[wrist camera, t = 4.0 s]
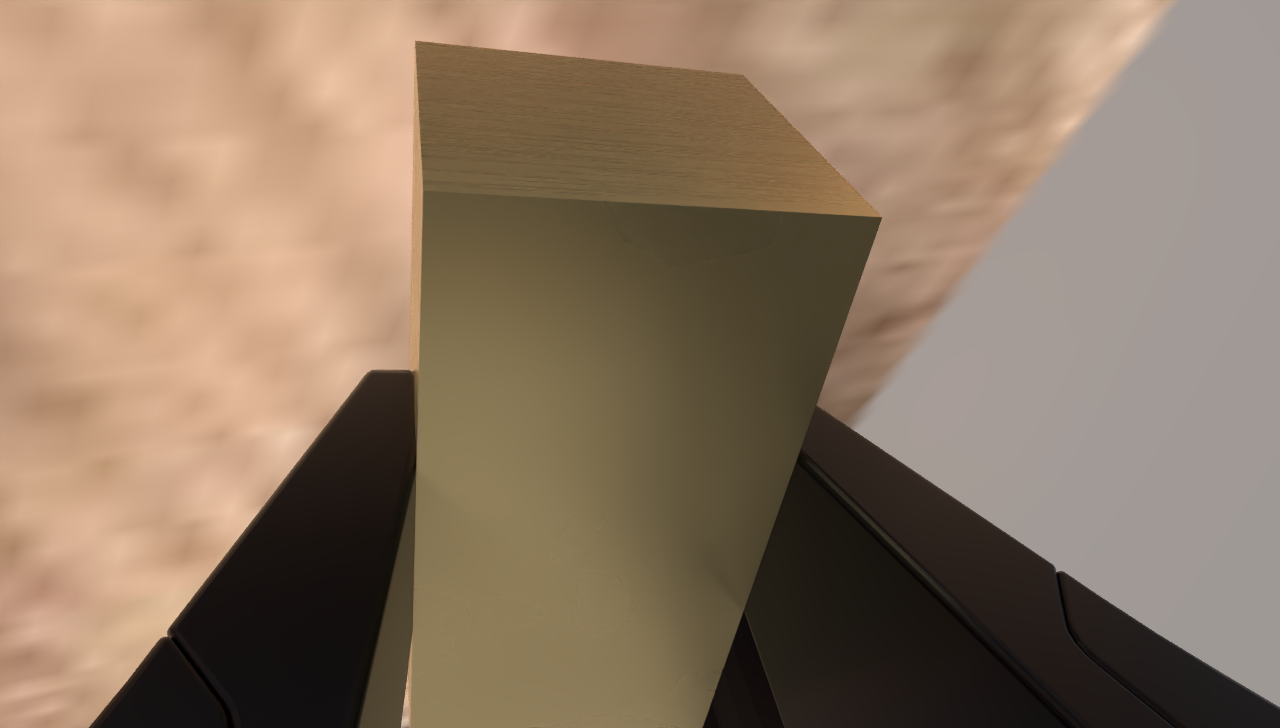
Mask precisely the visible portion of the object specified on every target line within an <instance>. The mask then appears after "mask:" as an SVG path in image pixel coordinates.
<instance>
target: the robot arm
mask: <svg viewBox="0 0 1280 728" xmlns="http://www.w3.org/2000/svg"><path fill="white" fill-rule="evenodd" d="M415 509H416V438H415V411H414V384H413V372H412V371H411V370H371V371H370V372H368V373H367V374H366V375H365V376H364V377H363V379H362V380H361V381H360V382H359V384H358V385H357V386H356V388H355V389H354V390H353V392H352V393H351V394H350V395H349V397H348V398H347V399H346V401H345V402H344V403H343V404H342V406H341V407H340V408H339V410H338V411H337V412H336V413H335V415H334V416H333V417H332V419H331V420H330V421H329V422H328V424H327V425H326V426H325V428H324V429H323V430H322V431H321V433H320V434H319V435H318V437H317V438H316V439H315V440H314V442H313V443H312V444H311V446H310V447H309V448H308V449H307V451H306V452H305V453H304V455H303V456H302V457H301V459H300V460H299V461H298V462H297V464H296V465H295V466H294V468H293V469H292V470H291V471H290V473H289V474H288V475H287V477H286V478H285V479H284V480H283V482H282V483H281V484H280V486H279V487H278V488H277V489H276V491H275V492H274V493H273V495H272V496H271V497H270V498H269V500H268V501H267V502H266V504H265V505H264V506H263V507H262V509H261V510H260V511H259V513H258V514H257V515H256V517H255V518H254V519H253V520H252V522H251V523H250V524H249V526H248V527H247V528H246V529H245V531H244V532H243V533H242V535H241V536H240V537H239V538H238V540H237V541H236V542H235V544H234V545H233V546H232V547H231V549H230V550H229V551H228V553H227V554H226V555H225V556H224V558H223V559H222V560H221V562H220V563H219V564H218V565H217V567H216V568H215V569H214V571H213V572H212V573H211V574H210V576H209V577H208V578H207V580H206V581H205V582H204V584H203V585H202V586H201V587H200V589H199V590H198V591H197V593H196V594H195V595H194V596H193V598H192V599H191V600H190V602H189V603H188V604H187V605H186V607H185V608H184V609H183V611H182V612H181V613H180V614H179V616H178V617H177V618H176V620H175V621H174V622H173V623H172V625H171V626H170V627H169V629H168V631H167V635H168V637H163V638H161V639H160V640H159V641H158V642H157V643H156V644H155V646H154V647H153V648H152V650H151V651H150V652H149V654H148V655H147V656H146V657H145V659H144V660H143V661H142V663H141V664H140V665H139V667H138V668H137V669H136V670H135V672H134V673H133V674H132V676H131V677H130V678H129V680H128V681H127V682H126V683H125V685H124V686H123V687H122V688H121V689H120V691H119V692H118V693H117V694H116V695H115V697H114V698H113V699H112V700H111V701H110V703H109V704H108V705H107V706H106V708H105V709H104V710H103V711H102V712H101V714H100V715H99V716H98V717H97V718H96V720H95V721H94V722H93V723H92V724H91V726H90V727H89V728H401V721H402V713H403V705H404V697H405V689H406V681H407V673H408V665H409V657H410V649H411V641H412V633H413V591H414V550H415ZM703 728H1280V707H1278V706H1277V705H1275V704H1273V703H1271V702H1270V701H1268V700H1266V699H1264V698H1263V697H1261V696H1260V695H1258V694H1256V693H1255V692H1253V691H1251V690H1250V689H1248V688H1246V687H1244V686H1243V685H1241V684H1239V683H1238V682H1236V681H1234V680H1232V679H1231V678H1229V677H1227V676H1226V675H1224V674H1223V673H1221V672H1219V671H1218V670H1216V669H1214V668H1213V667H1211V666H1209V665H1208V664H1206V663H1205V662H1203V661H1201V660H1200V659H1198V658H1196V657H1195V656H1193V655H1191V654H1190V653H1188V652H1186V651H1185V650H1183V649H1182V648H1180V647H1178V646H1177V645H1175V644H1173V643H1172V642H1170V641H1168V640H1167V639H1165V638H1163V637H1162V636H1160V635H1158V634H1157V633H1155V632H1154V631H1152V630H1151V629H1149V628H1148V627H1146V626H1144V625H1143V624H1142V623H1140V622H1138V621H1137V620H1135V619H1134V618H1132V617H1131V616H1129V615H1128V614H1126V613H1125V612H1123V611H1122V610H1120V609H1118V608H1117V607H1115V606H1114V605H1112V604H1110V603H1109V602H1108V601H1106V600H1105V599H1103V598H1102V597H1100V596H1099V595H1097V594H1096V593H1094V592H1093V591H1091V590H1090V589H1088V588H1087V587H1085V586H1084V585H1082V584H1081V583H1080V582H1078V581H1077V580H1075V579H1074V578H1072V577H1071V576H1069V575H1068V574H1066V573H1065V572H1063V571H1059V572H1057V573H1056V569H1055V567H1054V565H1053V564H1051V563H1049V562H1048V561H1047V560H1045V559H1044V558H1042V557H1041V556H1039V555H1038V554H1036V553H1035V552H1033V551H1032V550H1030V549H1029V548H1027V547H1026V546H1024V545H1023V544H1021V543H1020V542H1018V541H1017V540H1016V539H1014V538H1013V537H1011V536H1010V535H1008V534H1007V533H1005V532H1003V531H1002V530H1001V529H999V528H998V527H996V526H995V525H993V524H992V523H990V522H989V521H987V520H986V519H984V518H983V517H981V516H980V515H978V514H977V513H975V512H974V511H972V510H971V509H970V508H968V507H966V506H965V505H964V504H962V503H961V502H959V501H958V500H956V499H955V498H953V497H952V496H950V495H949V494H947V493H946V492H944V491H943V490H941V489H940V488H938V487H937V486H935V485H934V484H932V483H931V482H929V481H928V480H926V479H925V478H923V477H922V476H921V475H919V474H918V473H916V472H915V471H913V470H912V469H910V468H908V467H907V466H906V465H904V464H903V463H901V462H900V461H898V460H897V459H895V458H894V457H892V456H891V455H889V454H888V453H886V452H885V451H883V450H882V449H880V448H879V447H878V446H876V445H875V444H873V443H872V442H870V441H869V440H867V439H865V438H864V437H863V436H861V435H860V434H858V433H857V432H855V431H854V430H852V429H851V428H849V427H848V426H846V425H845V424H843V423H842V422H840V421H839V420H837V419H836V418H834V417H833V416H832V415H830V414H829V413H827V412H826V411H824V410H823V409H821V408H820V407H818V406H817V405H816V407H815V409H814V412H813V415H812V418H811V421H810V424H809V426H808V429H807V432H806V435H805V438H804V441H803V443H802V446H801V449H800V452H799V455H798V458H797V461H796V463H795V466H794V469H793V472H792V475H791V478H790V480H789V483H788V486H787V489H786V492H785V495H784V497H783V500H782V503H781V506H780V509H779V512H778V514H777V517H776V520H775V523H774V526H773V529H772V532H771V534H770V537H769V540H768V543H767V546H766V549H765V551H764V554H763V557H762V560H761V563H760V566H759V568H758V571H757V574H756V577H755V580H754V583H753V586H752V588H751V591H750V594H749V597H748V600H747V603H746V605H745V608H744V611H743V614H742V617H741V620H740V622H739V625H738V628H737V631H736V634H735V637H734V640H733V642H732V645H731V648H730V651H729V654H728V657H727V659H726V662H725V665H724V668H723V671H722V674H721V676H720V679H719V682H718V685H717V688H716V691H715V693H714V696H713V699H712V702H711V705H710V708H709V711H708V713H707V716H706V719H705V722H704V725H703Z"/></svg>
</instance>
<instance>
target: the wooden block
mask: <svg viewBox="0 0 1280 728" xmlns="http://www.w3.org/2000/svg"><path fill="white" fill-rule="evenodd" d="M881 219H882V217H881V216H880V214H879V213H878V212H877V211H876V210H875V209H874V208H873V207H872V206H871V205H870V204H869V203H868V202H867V201H866V200H865V199H864V198H863V197H862V196H861V195H860V194H859V193H858V192H857V191H856V190H855V189H854V188H853V187H852V186H851V185H850V184H849V183H848V182H847V181H846V180H845V179H844V178H843V177H842V176H841V175H840V174H839V173H838V172H837V171H836V170H835V168H834V167H833V166H832V165H831V164H830V163H829V162H828V161H827V160H826V159H825V158H824V157H823V156H822V155H821V154H820V153H819V152H818V151H817V150H816V149H815V148H814V147H813V146H812V145H811V144H810V143H809V142H808V141H807V140H806V139H805V138H804V137H803V136H802V135H801V134H800V133H799V132H798V131H797V130H796V129H795V128H794V127H793V126H792V125H791V124H790V123H789V121H788V120H787V119H786V118H785V117H784V116H783V115H782V114H781V113H780V112H779V111H778V110H777V109H776V108H775V107H774V106H773V105H772V104H771V103H770V102H769V101H768V100H767V99H766V98H765V97H764V96H763V95H762V94H761V93H760V92H759V91H758V90H757V89H756V88H755V87H754V86H753V85H752V84H751V83H750V82H749V81H748V80H747V79H746V78H745V77H744V75H740V74H730V73H721V72H711V71H701V70H692V69H682V68H672V67H663V66H653V65H643V64H634V63H624V62H614V61H605V60H595V59H585V58H576V57H566V56H556V55H547V54H537V53H527V52H518V51H508V50H499V49H489V48H479V47H470V46H460V45H450V44H441V43H431V42H421V41H415V82H414V142H413V202H412V262H411V323H410V370H411V371H412V372H413V384H414V411H415V438H416V509H415V550H414V591H413V633H412V641H411V649H410V657H409V665H408V680H409V728H703V725H704V722H705V719H706V716H707V713H708V711H709V708H710V705H711V702H712V699H713V696H714V693H715V691H716V688H717V685H718V682H719V679H720V676H721V674H722V671H723V668H724V665H725V662H726V659H727V657H728V654H729V651H730V648H731V645H732V642H733V640H734V637H735V634H736V631H737V628H738V625H739V622H740V620H741V617H742V614H743V611H744V608H745V605H746V603H747V600H748V597H749V594H750V591H751V588H752V586H753V583H754V580H755V577H756V574H757V571H758V568H759V566H760V563H761V560H762V557H763V554H764V551H765V549H766V546H767V543H768V540H769V537H770V534H771V532H772V529H773V526H774V523H775V520H776V517H777V514H778V512H779V509H780V506H781V503H782V500H783V497H784V495H785V492H786V489H787V486H788V483H789V480H790V478H791V475H792V472H793V469H794V466H795V463H796V461H797V458H798V455H799V452H800V449H801V446H802V443H803V441H804V438H805V435H806V432H807V429H808V426H809V424H810V421H811V418H812V415H813V412H814V409H815V407H816V404H817V401H818V398H819V395H820V392H821V389H822V387H823V384H824V381H825V378H826V375H827V372H828V370H829V367H830V364H831V361H832V358H833V355H834V353H835V350H836V347H837V344H838V341H839V338H840V335H841V333H842V330H843V327H844V324H845V321H846V318H847V316H848V313H849V310H850V307H851V304H852V301H853V299H854V296H855V293H856V290H857V287H858V284H859V281H860V279H861V276H862V273H863V270H864V267H865V264H866V262H867V259H868V256H869V253H870V250H871V247H872V245H873V242H874V239H875V236H876V233H877V230H878V228H879V225H880V222H881Z"/></svg>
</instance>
